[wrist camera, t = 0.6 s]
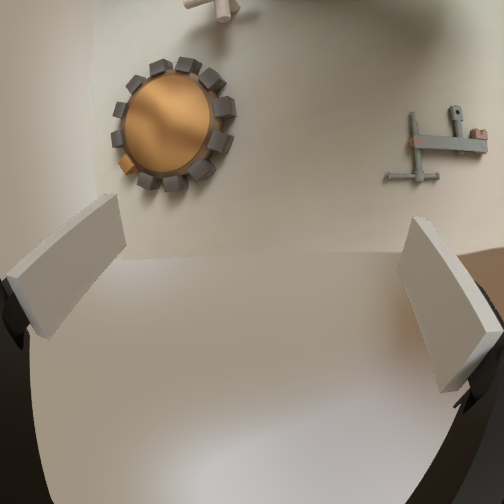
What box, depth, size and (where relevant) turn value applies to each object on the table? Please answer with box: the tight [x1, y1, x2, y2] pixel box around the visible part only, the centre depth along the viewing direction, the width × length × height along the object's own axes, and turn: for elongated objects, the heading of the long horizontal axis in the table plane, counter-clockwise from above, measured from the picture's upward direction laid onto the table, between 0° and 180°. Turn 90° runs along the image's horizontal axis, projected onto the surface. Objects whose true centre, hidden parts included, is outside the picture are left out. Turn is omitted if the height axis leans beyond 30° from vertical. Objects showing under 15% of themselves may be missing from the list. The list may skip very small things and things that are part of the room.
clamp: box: [387, 105, 488, 182], centre depth 28 cm, size 15×2×10 cm
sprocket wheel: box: [111, 57, 236, 192], centre depth 36 cm, size 20×20×2 cm
